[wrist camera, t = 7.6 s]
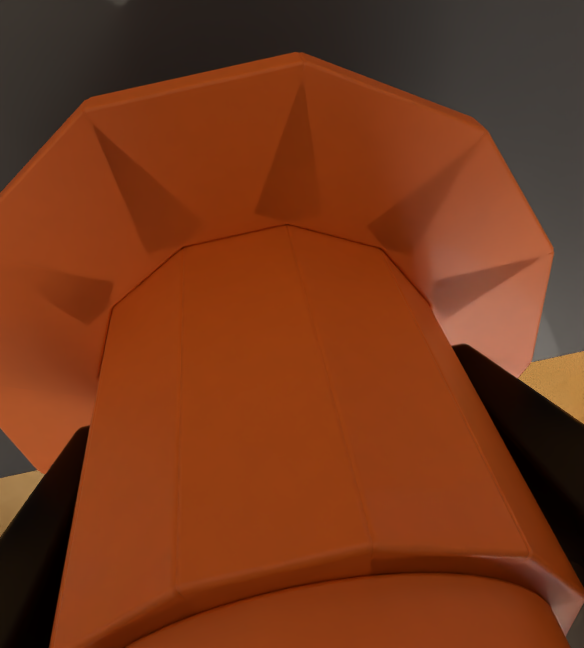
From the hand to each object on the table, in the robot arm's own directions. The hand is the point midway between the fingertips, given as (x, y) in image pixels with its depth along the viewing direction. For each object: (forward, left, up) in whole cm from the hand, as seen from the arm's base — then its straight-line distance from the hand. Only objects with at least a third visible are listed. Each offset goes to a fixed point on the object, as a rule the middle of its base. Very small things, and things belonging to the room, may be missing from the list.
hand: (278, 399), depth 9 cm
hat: (0, 0, -1) cm, 1 cm away
